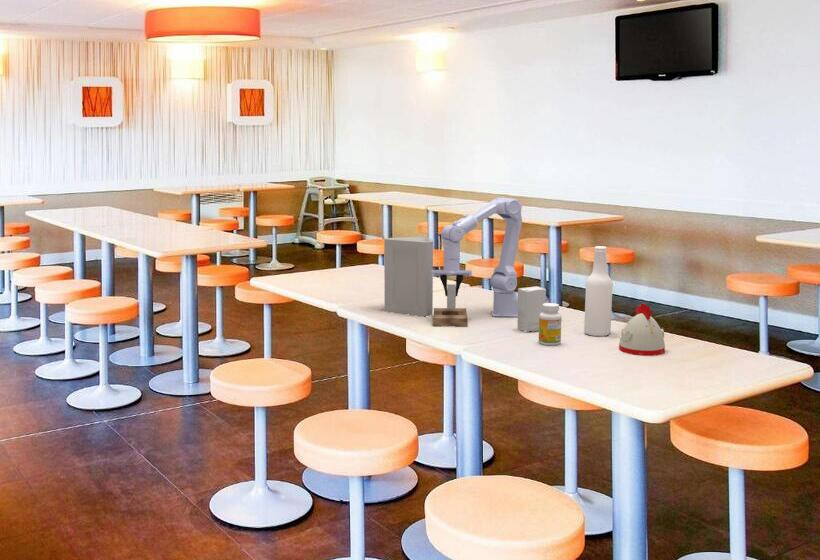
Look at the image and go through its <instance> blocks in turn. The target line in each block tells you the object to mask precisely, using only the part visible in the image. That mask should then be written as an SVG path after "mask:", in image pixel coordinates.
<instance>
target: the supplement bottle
mask: <svg viewBox="0 0 820 560" xmlns="http://www.w3.org/2000/svg"><path fill="white" fill-rule="evenodd" d="M542 310H543V312H542V313H540V315H539V331H538V343H539V344H540V345H542V346H543V345H544V346H558V345H560V344H561V342H562V314H561V313H559V310H560V304H558V303H555V302H554V303H553V302H546V303H544V304H543V306H542Z"/></svg>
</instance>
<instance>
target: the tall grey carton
mask: <svg viewBox="0 0 820 560" xmlns="http://www.w3.org/2000/svg"><path fill="white" fill-rule="evenodd" d="M383 243H384V247H383V248H384V252H383V253H384V258H383V259H384V263H383V264H384V266H383V267H384V269H383V270H384V276H383V277H384V312H385V311H388V312H387V313H390V312H394V313H393V314H398V313H402V314H401V315H406V314H409V315H408V316H414V315H417V316H416V317H421V316H429V317H431V316H434V307H433V298H434V297H433V292H434V290H433V289H434V288H433V287H434V286H433V285H434V276H432V270H434V240H432V239H431V238H430V237H429V236H407V237H405V236H404V237H401V236H400V237H387V238H384V242H383ZM430 315H431V316H430Z"/></svg>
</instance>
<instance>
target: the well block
mask: <svg viewBox="0 0 820 560" xmlns="http://www.w3.org/2000/svg"><path fill="white" fill-rule="evenodd" d="M468 324H469V323H468V312H467V308H466V307H465V308H463V307H460V308H459V307H456V309H447V307H433V327H441V326H455V327H454V328H456V327H459V328H461V327H463V328H465V327H466V328H468Z"/></svg>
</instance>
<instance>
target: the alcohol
mask: <svg viewBox="0 0 820 560" xmlns="http://www.w3.org/2000/svg"><path fill="white" fill-rule="evenodd" d="M607 249H608V248H607V247H606V246H605V245H604V246H603V245H598V246H597V245H596V246H594V257H593V263H592V264H593V266H592V270H591V271H592V272H591V274H590V275H589V276H588V278H587V279H586V283H585V300H584V301H585V302H584V325H583V327H584V328H583V332H584V333H585V335H587V334H588V336H590V335H591V336H590V337H608V336H609V335H610V334H611V331H612V330H611V329H612V327H611V326H612V309H613V307H612V306H613V305H612V304H613V287H614V286H613V280H612V279H611V277H610V275H609V274H608V270H607V266H608V265H607V263H608V262H607V252H608V251H607ZM607 335H608V336H607Z"/></svg>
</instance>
